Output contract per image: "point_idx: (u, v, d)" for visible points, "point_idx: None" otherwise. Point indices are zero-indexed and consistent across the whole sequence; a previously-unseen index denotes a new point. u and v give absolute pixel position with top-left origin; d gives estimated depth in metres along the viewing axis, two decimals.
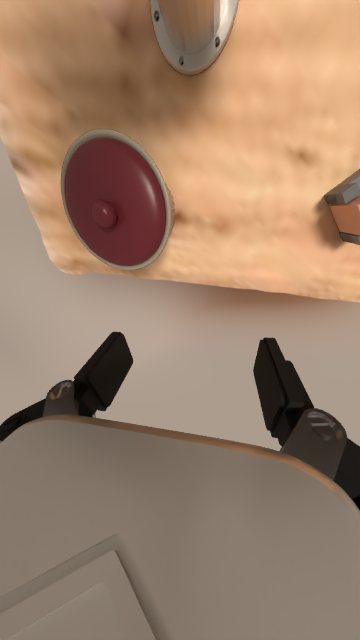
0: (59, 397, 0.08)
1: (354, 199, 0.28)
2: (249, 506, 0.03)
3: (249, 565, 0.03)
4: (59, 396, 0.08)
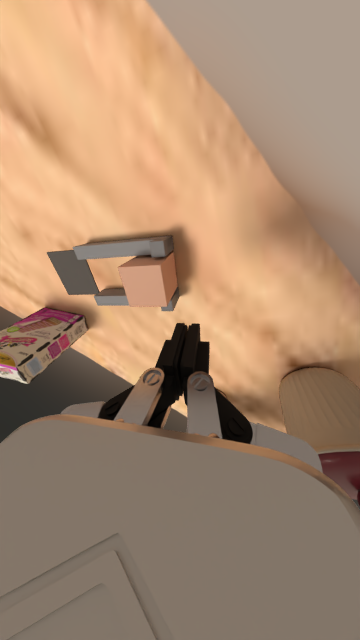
0: (148, 383, 0.08)
1: None
2: (249, 506, 0.03)
3: (249, 565, 0.03)
4: (149, 382, 0.08)
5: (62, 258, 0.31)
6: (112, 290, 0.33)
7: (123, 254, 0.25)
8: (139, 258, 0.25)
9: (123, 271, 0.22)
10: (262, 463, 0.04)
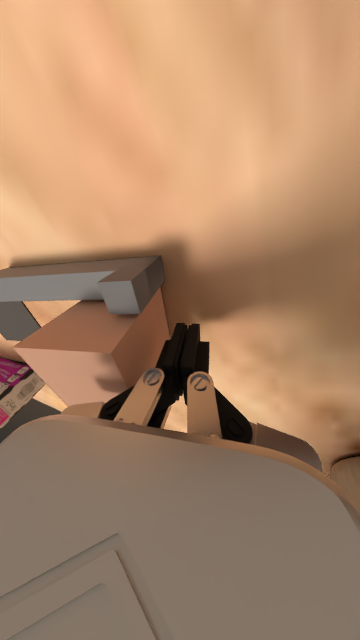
0: (148, 383, 0.08)
1: None
2: (249, 506, 0.03)
3: (249, 565, 0.03)
4: (149, 382, 0.08)
5: None
6: None
7: (60, 296, 0.12)
8: (87, 305, 0.12)
9: (29, 355, 0.09)
10: (262, 463, 0.04)
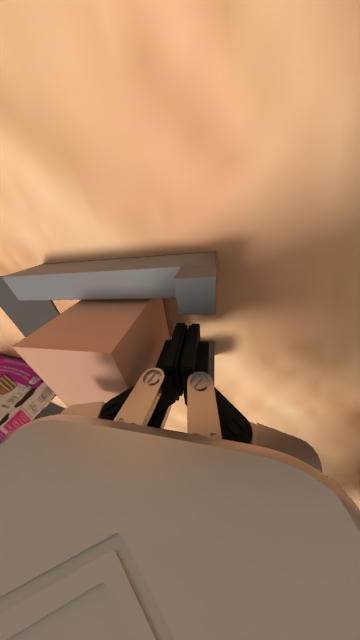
0: (148, 383, 0.08)
1: None
2: (249, 506, 0.03)
3: (249, 565, 0.03)
4: (149, 382, 0.08)
5: (5, 287, 0.18)
6: None
7: (109, 295, 0.11)
8: (87, 305, 0.12)
9: (29, 355, 0.09)
10: (262, 463, 0.04)
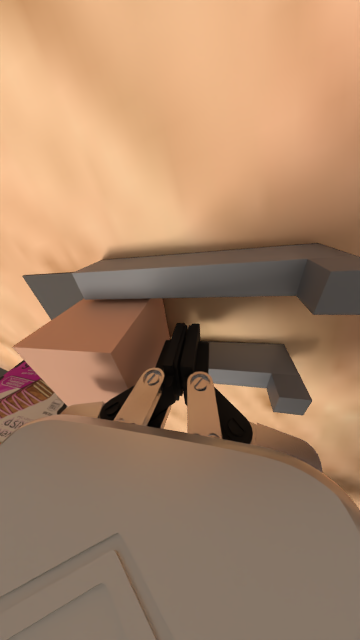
0: (148, 383, 0.08)
1: None
2: (249, 506, 0.03)
3: (249, 565, 0.03)
4: (149, 382, 0.08)
5: (52, 286, 0.16)
6: None
7: (200, 292, 0.10)
8: (87, 305, 0.12)
9: (29, 355, 0.09)
10: (262, 463, 0.04)
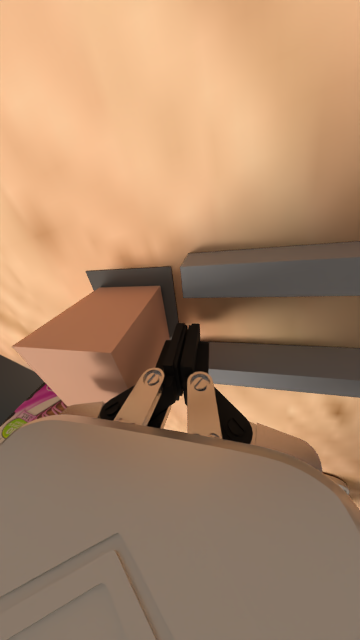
0: (148, 383, 0.08)
1: None
2: (249, 506, 0.03)
3: (249, 565, 0.03)
4: (149, 382, 0.08)
5: (118, 283, 0.15)
6: (218, 347, 0.16)
7: (343, 290, 0.08)
8: (87, 305, 0.12)
9: (29, 355, 0.09)
10: (262, 463, 0.04)
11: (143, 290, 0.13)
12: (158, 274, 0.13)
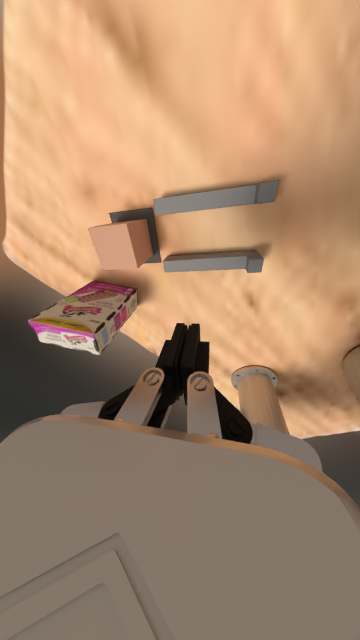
0: (148, 383, 0.08)
1: None
2: (249, 506, 0.03)
3: (249, 565, 0.03)
4: (149, 382, 0.08)
5: (126, 219, 0.29)
6: (179, 256, 0.30)
7: (213, 205, 0.22)
8: None
9: (93, 232, 0.23)
10: (262, 463, 0.04)
11: None
12: (146, 212, 0.27)
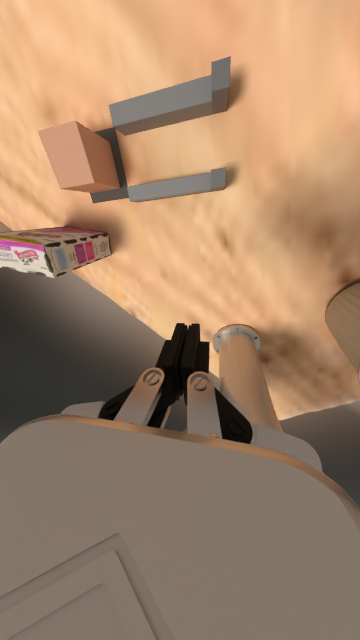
0: (148, 383, 0.08)
1: (98, 186, 0.26)
2: (249, 506, 0.03)
3: (249, 565, 0.03)
4: (149, 382, 0.08)
5: None
6: None
7: (170, 107, 0.21)
8: None
9: (44, 136, 0.22)
10: (262, 463, 0.04)
11: None
12: (108, 133, 0.26)
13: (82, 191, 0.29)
